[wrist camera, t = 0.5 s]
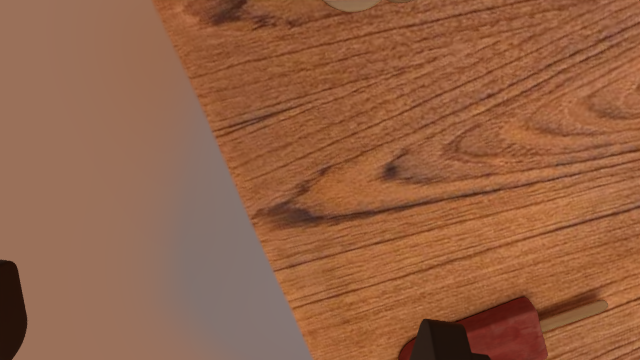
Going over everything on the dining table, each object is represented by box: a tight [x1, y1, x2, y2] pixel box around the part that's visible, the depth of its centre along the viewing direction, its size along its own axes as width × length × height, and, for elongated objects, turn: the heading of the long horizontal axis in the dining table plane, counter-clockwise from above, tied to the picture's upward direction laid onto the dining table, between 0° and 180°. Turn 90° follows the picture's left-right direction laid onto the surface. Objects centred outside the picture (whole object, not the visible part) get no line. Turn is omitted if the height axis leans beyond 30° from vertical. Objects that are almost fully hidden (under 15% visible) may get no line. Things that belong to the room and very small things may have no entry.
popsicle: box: [399, 297, 608, 360], centre depth 36 cm, size 4×2×15 cm
